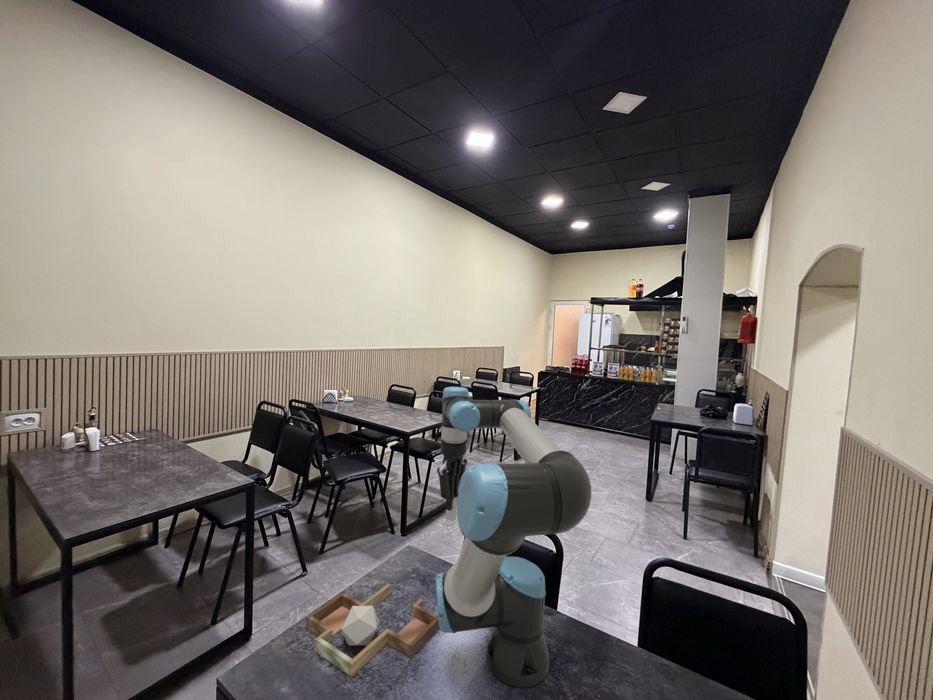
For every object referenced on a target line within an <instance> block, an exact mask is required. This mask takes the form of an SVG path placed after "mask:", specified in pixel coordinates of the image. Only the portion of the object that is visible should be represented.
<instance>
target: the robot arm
mask: <svg viewBox="0 0 933 700" xmlns="http://www.w3.org/2000/svg"><path fill="white" fill-rule="evenodd" d="M442 392H443V393H442V398H441V401H442V410H441V412H442V413H441V436H440V437H441V441H440V453H441V454H442V455H443V459H442V465H441V467H437V469H436V472H437V474H438V478H439V488H440V497H441V498H443V499H444V500H445V520H447V521H450V522H455V521H456V519H457V525H458V527H459V530H460V533H461V534H462V536H464V539H463V544H462V547H461V550H460V552H459V556H458V558H457V562H455V563H454V564H453V565H451V567H450V568H449V569H448V571H447V572H441V573H438V574H436V576H435V577H434V578H435V579H434V580H435V591H436V593H435V594H436V606H437V607H436V609H437V615H438V621H439V628H440V629H439V630H440V631H441V632H442V633H444V634H446V633H450V634H456V633H459V632H467V631H473V630H474V631H475V630H481V629H482V630H483V629H490V628H492V631H491V633H490V635H489V639H488V641H487V644H486V653H485V654H486V655H485V656H486V657H485V658H486V665H487V667H488V668H489V670H490V671H491V673H492V674H493V675H494V677H496V679H498V680H499V681H501V682H503V683H504V684H507V685H508V686H511V687H514V688H515V687H516V688H531V687H534V686H537V685H538V684H540V683H541V682H543V681H544V680H545V679H546V677H547V675H548V673H549V671H550V670H549V669H550V653H549V649H548V646H547V641H546V637H545V634H544V619H545V618H544V617H545V605H546V604H545V603H546V602H545V599H546V595H547V592H546V577H545V575H544V573H543V571H542V569H540V568H539V566H537V565H536V564H535V563H533V561H532V562H531V561H529V560H527V559H526V558H523V557H519V556H508V555H511V554H512V553H514V552H516V551H517V550H518V549H520V547H521V546H522V545H523V543H524V541H525V539H526V537H530V536H531V537H532V536H543V535H544V536H546V535H558V534H564V533H566V532H569V531H570V530H572V529H574V528H575V527H577V526H578V525H579V524H580V523H581V522H582V521H583V520H584V518H585V517H586V515H587V512H588V511H589V509H590V505H591V502H592V485H591V481H590V480H591V479H590V477H589V475H588V472H587V470H586V469H585V467H584V465H583V464H582V463H581V462H580V461H579V460H578V459H577V458H576V457H575V456H574V455H573V454H572V453H571V452H569V451H567V450H563V449H561V448H559V447H558V446H557V444H555V442H554V441H553V440H552V439H551V438H550V437H549V436H548V435H547V434H546V433H545V432H544V431H543V430H542V428H540V427H539V425H537V424H536V422H535V421H533V419H531V418H532V417H531V416H532V413H531V412H532V411H531V408H530V406H529V405H530V404H529V403H528V402H527V401H526V400H520V399H519V400H518V399H470V397H469V389H468V388H466V387H462V386H448V387H445V388H444V389H443V391H442ZM475 429H501V431H502V432H503V434H505V436H506V438H507V439H508V441H509V442H510V443H511V445H512V446H513V447H514V449H515V450H516V452H517V453H518V454H519V456H520V458H521V459H522V460H523V463H522V462H519V463H517V462H516V463H494V462H486V463H483V464H476V465H475V464H474V465H471V466H469V467H468V468H467V469H466V466H467V464H468V459H466V458H464V455H466V453H467V443H468V441H466V440H467V439H468V432H471V431H473V430H475Z"/></svg>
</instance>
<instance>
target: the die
mask: <svg viewBox="0 0 933 700" xmlns="http://www.w3.org/2000/svg"><path fill="white" fill-rule="evenodd" d="M379 624H380V620H379V617H378V615H377V612H376V609H375V607H373V606H352V608H351V610H350V612H349V614H348V616H347V619H346V621H345V623H344V625H343V627H342V629H341V631H342V634H343V637H345V640H346V643H347V645H348V646H349V647H352V646H356V647H358V646H368V645H369V644H370V643H371V642H372V641H373V640H374V639H373V638H374V636H375V634H376V631H377V629H378V627H379Z"/></svg>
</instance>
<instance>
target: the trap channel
mask: <svg viewBox="0 0 933 700" xmlns="http://www.w3.org/2000/svg"><path fill="white" fill-rule="evenodd" d="M390 595H392V584H391V583H387V584H386V585H384V586H383V587H382V588H380V589H379V590H378V591H376V592H375V593H374V594H372V595H371V596H370V597H369V598H367V599H366V600H364V601H363V602H361V601H359V600H358V599H356V598H354V597H352V596H350V595H348V594H347V593H345V592H344V591H343V592H341V593H339V594H338V595H337V596H335V597H334V598H332V599H331V600H329V601H328V602H326V603H327V604H326V603H325V604H323V605H322V606H323V607H322V606H321V608H320V607H319V608H320V609H319V608H318V610H317V609H316V610H317V611H316V610H314V611H313V612H314V613H313V612H312V613H313V614H312V613H310V614H311V615H310V614H309V615H310V616H309V615H308V616H309V617H308V618H307V617H306V618H305V619H306V620H305V621H306V622H305V623H306V625H305V626H306V627H305V629H307V630H308V631H310V632H312V633H313V634H314V635H316V637H315V638H314V653H315V652H316V653H317V654H319V656H321V657H322V658H324V659H325V660H327V661H328V662H329V663H331V664H332V665H334V666H336V668H338V669H340V670H341V671H342V672H344V673H345V674H347V675H348V676H349V677H351V678H353V676H355V675H356V674H357V673H358V672H359V671H360V670H361V669H362V668H363V667H364V666H365V665H366V664H368V662H370V660H372V658H373V657H375V656H376V655H377V654H378V653H379V652H380V651H381V650H382V649H383V648H384V647H385V646H386V645H389V646H390V647H391V648H393V649H395V650H396V651H398V652H399V653H402V654H403V655H405V656H407V657H409V658H410V659H413V658H414V657H415V656H416V655H417V654H418V652H420V650H421V649H422V648H423V647H424V646H425V645H426V644H427V643H428V641H430V640H431V639H432V637H434V635H435V634H436V633H437V632H438V631H439V630H440V628H439V621H438V614H436V613H434V612H431V610H428V609H426V608H424V607H423V603H424V600H423V599H421V598H419V599H418V600H417V601H416V602H415V603H414V604H412V606H411V617H412V618H413V619H412V620H411V621H409V623H407V624H406V625H405V626H404V627H403V628H402V629H401V630H400V631H399V632H398V633H396V632H395V631H393V630H391V629H390V628H387V627H386V629H385V630H383V631H382V632H381V633H380V634H379V635H378V636H377V637H375V638H374V639H372V641H371V643H370V644H369V645H366V646H365V647H364V648H363V649H362V650H361V651H360V652H358V654H356V655H355V656H354V657H353V658H351V657H350V656H349V655H347V654H345V653H344V652H343V651H341V650H340V649H338V648H336V647H335V646H333V645H332V644H330V643H331V642H333V636H335V635H336V634H337V633H339V631H342V627H343V625H344V623H345V621H346V619H347V616H348V614H349V612H350V610H351V608H352V606H373V607H374V608H375V607H377V606H378V605H379V604H380V603H382V602H383V601H384V600H386V599H387V598H388V597H389V596H390Z"/></svg>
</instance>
